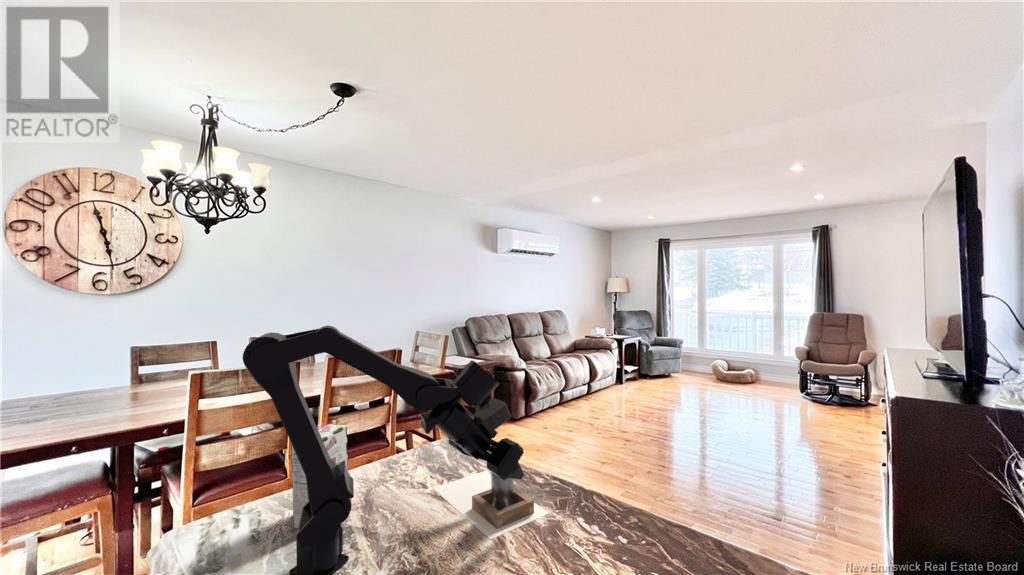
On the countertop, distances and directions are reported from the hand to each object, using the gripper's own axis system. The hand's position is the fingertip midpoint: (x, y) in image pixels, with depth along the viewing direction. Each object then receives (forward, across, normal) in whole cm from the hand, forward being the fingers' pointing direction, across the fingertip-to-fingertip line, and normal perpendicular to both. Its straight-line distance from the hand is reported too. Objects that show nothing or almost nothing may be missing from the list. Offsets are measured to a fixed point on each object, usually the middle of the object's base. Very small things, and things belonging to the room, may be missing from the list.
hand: (508, 468), depth 83 cm
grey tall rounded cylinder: (+5, 0, +7) cm, 8 cm away
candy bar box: (-15, +22, +28) cm, 38 cm away
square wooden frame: (+5, 0, +7) cm, 8 cm away
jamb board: (+5, +5, +7) cm, 11 cm away
